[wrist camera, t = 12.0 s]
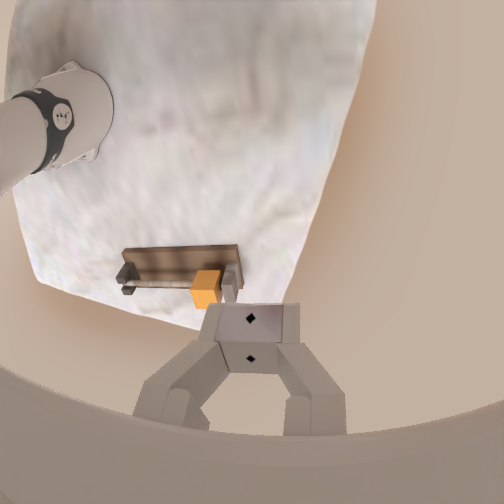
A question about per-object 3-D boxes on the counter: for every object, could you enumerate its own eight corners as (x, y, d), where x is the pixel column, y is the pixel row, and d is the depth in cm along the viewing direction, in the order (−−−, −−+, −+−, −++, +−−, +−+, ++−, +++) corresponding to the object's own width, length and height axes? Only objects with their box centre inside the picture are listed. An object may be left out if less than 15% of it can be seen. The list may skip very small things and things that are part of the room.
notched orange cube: (203, 288, 52) (196, 308, 48) (197, 270, 49) (189, 289, 45) (224, 288, 51) (219, 309, 47) (219, 269, 49) (213, 290, 45)
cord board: (139, 282, 59) (125, 307, 53) (124, 248, 54) (107, 272, 48) (243, 283, 55) (238, 312, 49) (236, 244, 50) (229, 272, 44)
